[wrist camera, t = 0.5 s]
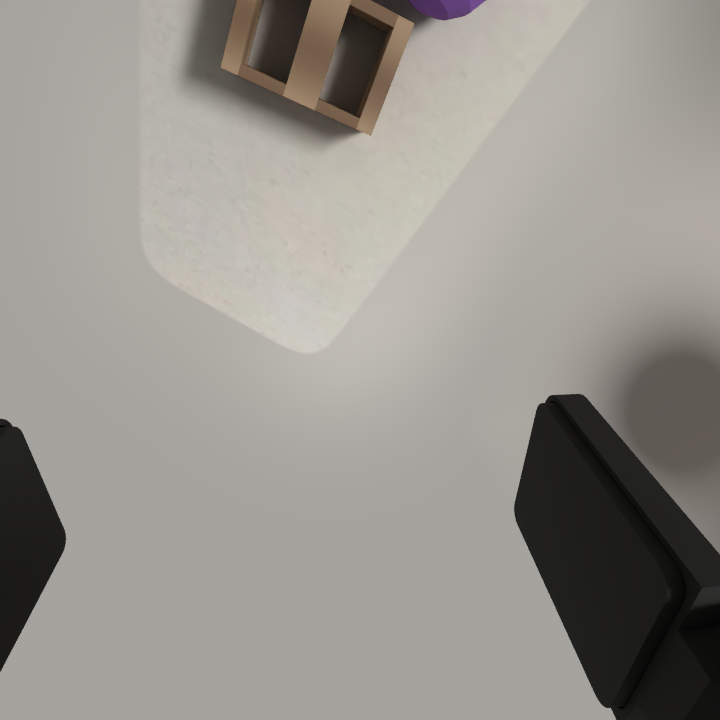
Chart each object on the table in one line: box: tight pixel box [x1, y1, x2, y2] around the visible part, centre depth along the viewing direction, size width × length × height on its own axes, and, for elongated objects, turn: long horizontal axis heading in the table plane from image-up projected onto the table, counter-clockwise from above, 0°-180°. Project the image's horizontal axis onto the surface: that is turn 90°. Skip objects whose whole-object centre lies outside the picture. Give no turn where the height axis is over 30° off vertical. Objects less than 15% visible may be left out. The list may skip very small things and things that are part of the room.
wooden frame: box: [221, 0, 414, 136], centre depth 28 cm, size 6×9×3 cm, turn 67°
